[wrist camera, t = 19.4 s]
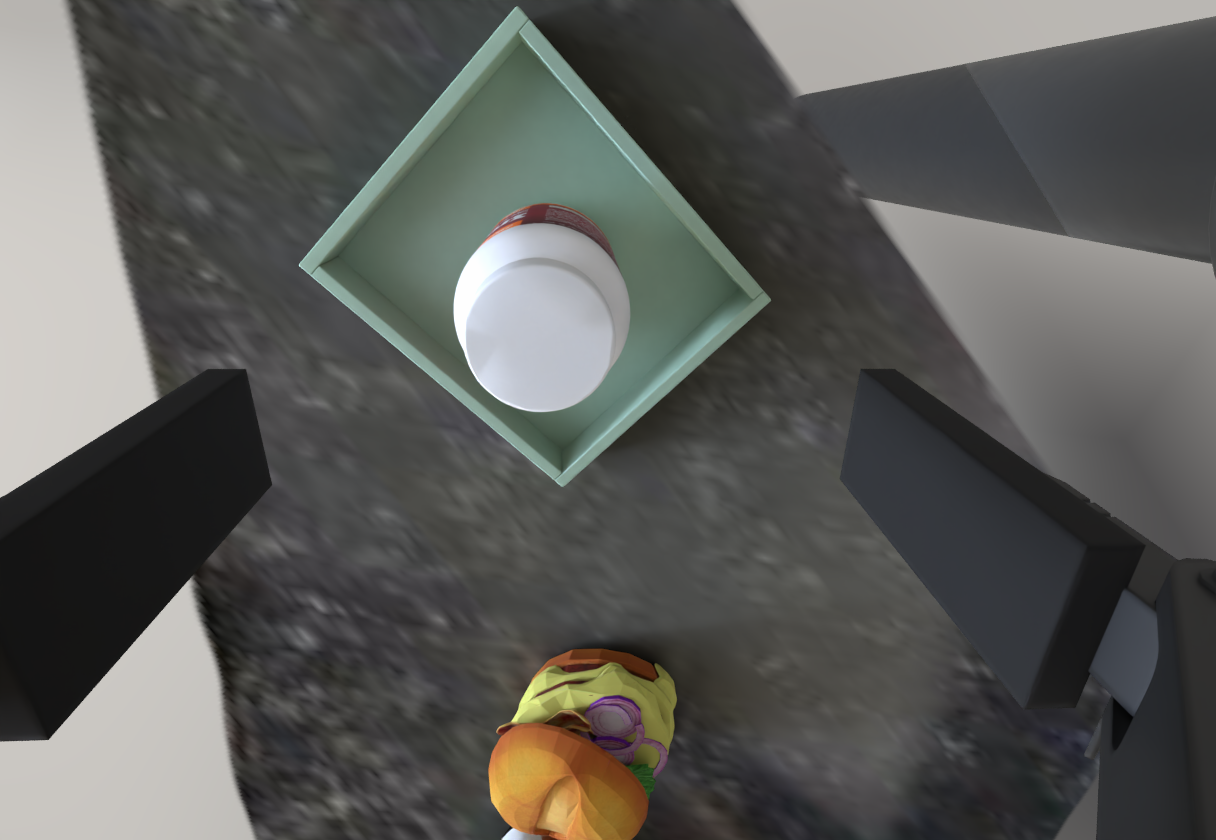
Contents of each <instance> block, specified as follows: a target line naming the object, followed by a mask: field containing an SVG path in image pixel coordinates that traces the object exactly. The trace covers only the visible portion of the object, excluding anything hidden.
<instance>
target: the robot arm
mask: <svg viewBox="0 0 1216 840" xmlns="http://www.w3.org/2000/svg"><path fill="white" fill-rule="evenodd" d="M840 480H841V481H842V482H843V484H844V485H845V486H846V487H847V489H848V490H849V491H850V492H851V494H852V495H853V496H854V497H855V499H856V500H857V501H858V502H859V504H860V505H861V506H862V507H863V509H864V510H865V511H866V512H867V514H868V515H869V516H870V517H871V519H872V520H873V521H874V522H875V524H876V525H877V526H878V527H879V529H880V530H881V531H882V533H883V534H884V535H885V536H886V538H887V539H888V540H889V541H890V543H891V544H892V545H893V546H894V548H895V549H896V550H897V551H898V553H899V554H900V555H901V556H902V558H903V559H904V560H905V561H906V563H907V564H908V565H909V566H910V568H911V569H912V570H913V571H914V573H915V574H916V575H917V576H918V578H919V579H920V580H921V581H922V583H923V584H924V585H925V587H926V588H927V589H928V590H929V592H930V593H931V594H932V595H933V597H934V598H935V599H936V600H937V602H938V603H939V604H940V605H941V607H942V608H943V609H944V610H945V612H946V613H947V614H948V615H949V617H950V618H951V619H952V620H953V622H954V623H955V624H956V625H957V627H958V628H959V629H960V630H961V632H962V633H963V634H964V635H965V637H966V638H967V639H968V640H969V642H970V643H971V644H972V646H973V647H974V648H975V649H976V651H977V652H978V653H979V654H980V656H981V657H982V658H983V659H984V661H985V662H986V663H987V664H988V666H989V667H990V668H991V669H992V671H993V672H994V673H995V674H996V676H997V677H998V678H999V679H1000V681H1001V682H1002V683H1003V684H1004V686H1005V687H1006V688H1007V689H1008V691H1009V692H1010V693H1011V694H1012V696H1013V697H1014V698H1015V700H1016V701H1017V702H1018V703H1019V705H1020V706H1021V707H1022V708H1023V709H1048V708H1075V707H1076V705H1077V703H1078V700H1079V698H1080V696H1081V693H1082V691H1083V689H1084V686H1085V684H1086V682H1087V680H1088V677H1089V675H1090V674H1091V675H1092V676H1093V677H1094V678H1095V679H1096V680H1097V681H1098V682H1099V683H1100V684H1101V685H1102V686H1103V687H1104V688H1105V689H1106V690H1107V691H1108V692H1109V693H1110V694H1111V698H1110V700H1109V702H1108V704H1107V706H1106V708H1105V711H1104V713H1103V715H1102V717H1101V719H1100V721H1099V724H1098V726H1097V728H1096V730H1095V732H1094V734H1093V737H1092V739H1091V741H1090V743H1089V745H1088V747H1087V749H1086V752H1085V754H1084V756H1085V757H1087V758H1090V759H1092V760H1094V758H1095V756H1096V755H1097V753H1098V751H1100V767H1099V789H1098V812H1097V834H1096V840H1216V561H1212V560H1208V559H1191V558H1186V559H1182V560H1177V559H1176V558H1174V557H1173V556H1171V555H1170V554H1168V553H1167V552H1165V551H1164V550H1163V549H1161V548H1160V547H1158V546H1157V545H1155V544H1154V543H1153V542H1151V541H1149V540H1148V539H1147V538H1145V537H1144V536H1142V535H1141V534H1139V533H1138V532H1136V531H1135V530H1134V529H1132V528H1131V527H1129V526H1128V525H1126V524H1125V523H1124V522H1122V521H1121V520H1119V519H1117V518H1116V517H1111V516H1110V513H1109V512H1107V511H1106V510H1105V509H1103V508H1102V507H1100V506H1099V505H1097V504H1096V503H1090V499H1089V498H1087V497H1085V496H1084V495H1083V494H1081V493H1080V492H1078V491H1077V490H1075V489H1074V488H1072V487H1071V486H1070V485H1068V484H1067V483H1065V482H1063V481H1061V480H1059V479H1056V478H1054V477H1052V476H1050V475H1047V474H1045V473H1043V472H1041V471H1039V470H1038V469H1036V468H1035V467H1034V466H1032V465H1031V464H1029V463H1028V462H1027V461H1025V460H1024V459H1022V458H1021V457H1019V456H1018V455H1017V454H1015V453H1014V452H1012V451H1011V450H1009V449H1008V448H1007V447H1005V446H1004V445H1002V444H1001V443H999V442H998V441H997V440H995V439H994V438H992V437H991V436H989V435H988V434H987V433H985V432H984V431H982V430H981V429H979V428H978V427H977V426H975V425H974V424H972V423H971V422H969V421H968V420H967V419H965V418H964V417H962V416H961V415H960V414H958V413H957V412H955V411H954V410H952V409H951V408H950V407H948V406H947V405H945V404H944V403H942V402H941V401H940V400H938V399H937V398H935V397H934V396H932V395H931V394H930V393H928V392H927V391H925V390H924V389H922V388H921V387H920V386H918V385H917V384H915V383H914V382H912V381H911V380H910V379H908V378H907V377H905V376H904V375H903V374H901V373H900V372H898V371H897V370H895V369H861V370H860V376H859V381H858V386H857V391H856V397H855V402H854V407H853V412H852V418H851V423H850V428H849V434H848V439H847V444H846V449H845V455H844V460H843V465H842V470H841V476H840ZM271 485H272V482H271V478H270V474H269V469H268V465H267V460H266V456H265V451H264V447H263V443H262V438H261V434H260V429H259V425H258V421H257V416H256V412H255V407H254V403H253V399H252V394H251V390H250V385H249V381H248V376H247V372H246V369H207V370H206V371H204V372H203V373H201V374H199V375H198V376H196V377H195V378H193V379H191V380H190V381H188V382H187V383H185V384H183V385H182V386H180V387H179V388H177V389H175V390H174V391H172V392H170V393H169V394H167V395H166V396H164V397H162V398H161V399H159V400H158V401H156V402H154V403H153V404H151V405H150V406H148V407H146V408H145V409H143V410H142V411H140V412H138V413H137V414H135V415H134V416H132V417H130V418H129V419H127V420H125V421H124V422H122V423H121V424H119V425H118V426H116V427H114V428H113V429H111V430H109V431H108V432H106V433H105V434H103V435H101V436H100V437H98V438H97V439H95V440H93V441H92V442H90V443H89V444H87V445H85V446H84V447H82V448H81V449H79V450H77V451H76V452H74V453H73V454H71V455H69V456H68V457H66V458H64V459H63V460H61V461H60V462H58V463H56V464H55V465H53V466H52V467H50V468H49V469H47V470H45V471H44V472H42V473H40V474H39V475H37V476H36V477H34V478H32V479H31V480H29V481H28V482H26V483H24V484H23V485H21V486H19V487H18V488H16V489H15V490H13V491H11V492H10V493H8V494H7V495H5V496H3V497H1V498H0V741H29V740H49V739H50V738H51V736H52V735H53V734H54V733H55V731H57V729H58V728H59V727H60V726H61V725H62V724H63V723H64V721H65V720H66V719H67V718H68V717H69V716H70V715H71V714H72V712H73V711H74V710H75V709H76V708H77V707H78V706H79V704H80V703H81V702H82V701H83V700H84V698H85V697H86V696H87V695H88V694H89V693H90V692H91V691H92V689H93V688H94V687H95V686H96V685H97V684H98V683H99V682H100V680H101V679H102V678H103V677H104V676H105V675H106V674H107V672H108V671H109V670H110V669H111V668H112V667H113V666H114V664H115V663H116V662H117V661H118V660H119V659H120V657H121V656H122V655H123V654H124V653H125V652H126V651H127V650H128V648H129V647H130V646H131V645H132V644H133V642H135V641H136V639H137V638H138V637H139V636H140V635H141V634H142V633H143V631H144V630H145V629H146V628H147V627H148V626H149V624H150V623H151V622H152V621H153V620H154V619H155V618H156V617H157V615H158V614H159V613H160V612H161V611H162V610H163V609H164V607H165V606H166V605H167V604H168V603H169V602H170V601H171V599H172V598H173V597H174V596H175V595H176V594H177V593H178V591H179V590H180V589H181V588H182V587H183V586H184V585H185V583H186V582H187V581H188V580H189V579H190V578H191V577H192V576H193V574H194V573H195V572H196V571H197V570H198V569H199V568H200V566H201V565H202V564H203V563H204V562H205V561H206V560H207V558H208V557H209V556H210V555H211V554H212V553H213V552H214V550H215V549H216V548H217V547H218V546H219V545H220V544H221V542H222V541H223V540H224V539H225V538H226V537H227V536H228V534H229V533H230V532H231V531H232V530H233V529H234V528H235V526H236V525H237V524H238V523H239V522H240V521H241V520H242V518H243V517H244V516H245V515H246V514H247V513H248V512H249V510H250V509H251V508H252V507H253V506H254V505H255V504H256V502H257V501H258V500H259V499H260V498H261V497H262V496H263V495H264V493H265V492H266V491H267V490H268V489H269V488H270V487H271Z"/></svg>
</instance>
